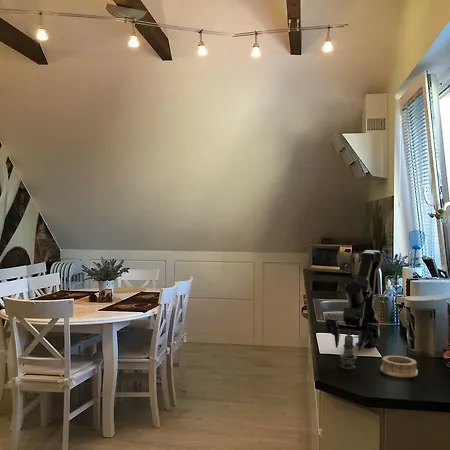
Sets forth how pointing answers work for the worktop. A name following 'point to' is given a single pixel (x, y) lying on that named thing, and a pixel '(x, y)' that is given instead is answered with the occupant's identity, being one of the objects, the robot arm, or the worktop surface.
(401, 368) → the beige round ring
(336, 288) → the worktop surface
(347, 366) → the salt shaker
